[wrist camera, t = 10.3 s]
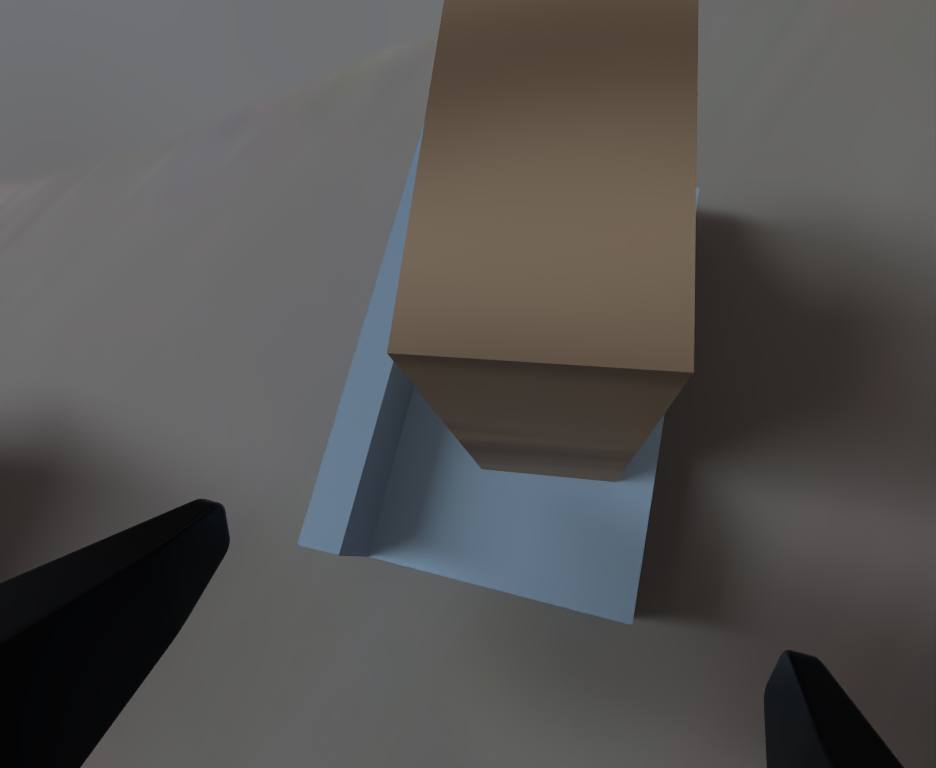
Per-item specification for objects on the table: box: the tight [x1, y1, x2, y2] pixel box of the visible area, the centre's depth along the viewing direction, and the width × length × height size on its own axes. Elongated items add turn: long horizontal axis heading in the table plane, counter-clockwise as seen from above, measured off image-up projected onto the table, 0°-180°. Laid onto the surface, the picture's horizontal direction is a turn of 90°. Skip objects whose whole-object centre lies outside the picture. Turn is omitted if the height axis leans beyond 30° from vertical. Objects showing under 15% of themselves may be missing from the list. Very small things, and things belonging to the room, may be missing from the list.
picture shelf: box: [297, 121, 700, 625], centre depth 19 cm, size 14×9×5 cm, turn 167°
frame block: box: [387, 0, 698, 482], centre depth 14 cm, size 7×4×10 cm, turn 173°
